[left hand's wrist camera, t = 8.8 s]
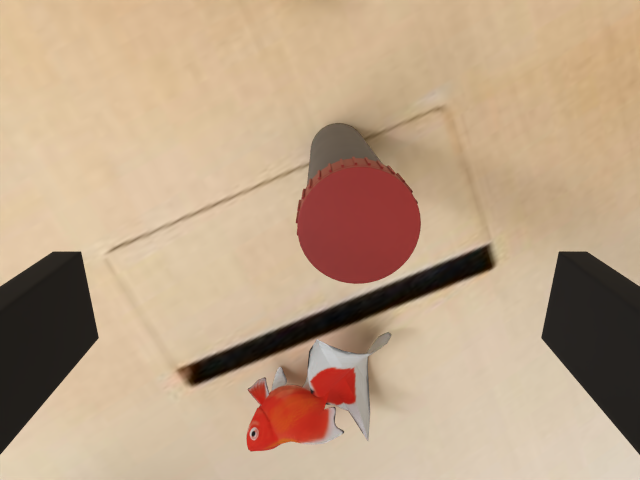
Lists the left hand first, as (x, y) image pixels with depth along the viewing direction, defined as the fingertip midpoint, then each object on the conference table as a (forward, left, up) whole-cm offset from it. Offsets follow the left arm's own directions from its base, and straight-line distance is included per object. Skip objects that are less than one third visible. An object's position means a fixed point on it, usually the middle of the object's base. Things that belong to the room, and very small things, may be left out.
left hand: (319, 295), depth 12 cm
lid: (0, -1, -6) cm, 6 cm away
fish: (-20, -4, -26) cm, 33 cm away
